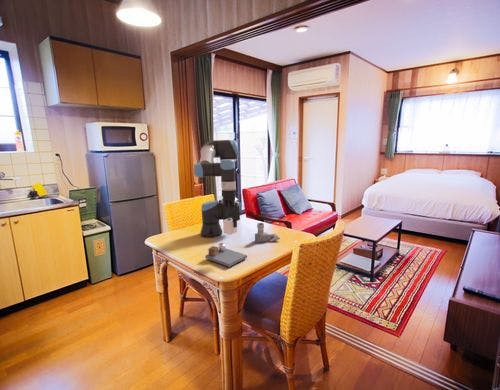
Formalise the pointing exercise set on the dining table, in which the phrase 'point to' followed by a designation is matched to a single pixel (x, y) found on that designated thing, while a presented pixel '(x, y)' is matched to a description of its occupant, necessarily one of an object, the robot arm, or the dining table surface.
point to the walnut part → (213, 251)
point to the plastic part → (228, 226)
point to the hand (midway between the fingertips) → (230, 232)
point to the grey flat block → (227, 257)
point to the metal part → (221, 247)
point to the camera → (264, 235)
